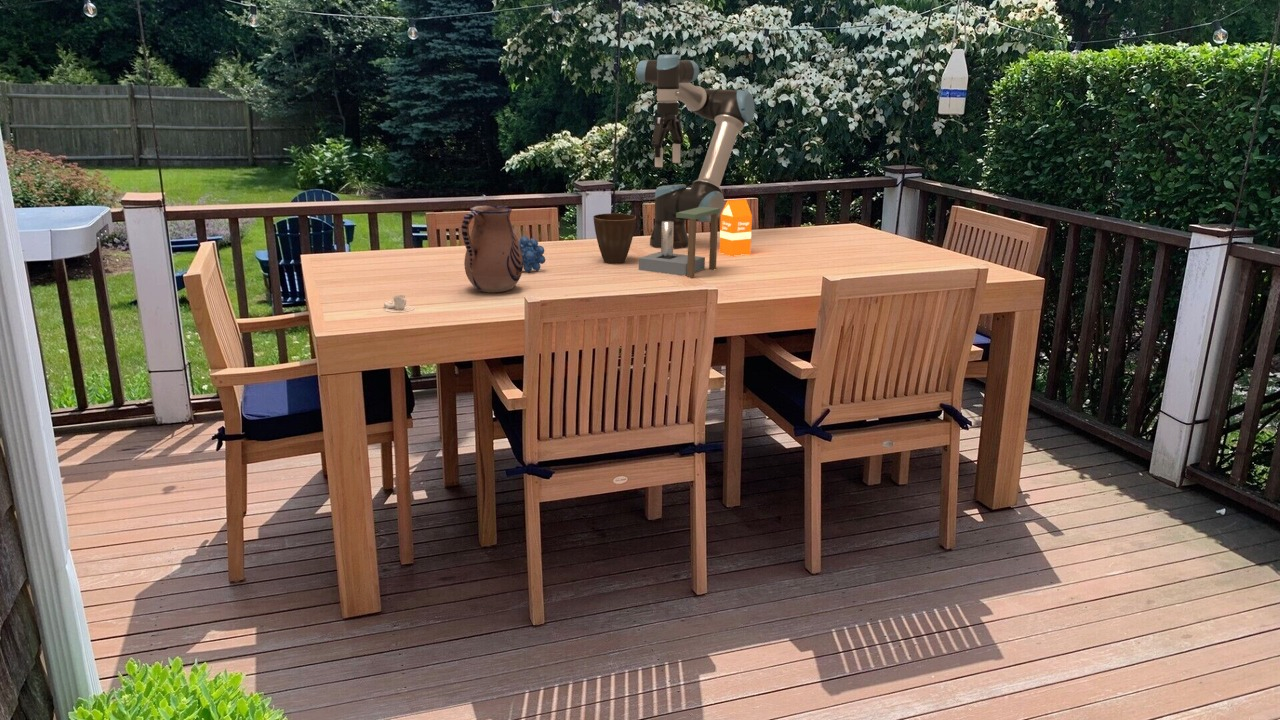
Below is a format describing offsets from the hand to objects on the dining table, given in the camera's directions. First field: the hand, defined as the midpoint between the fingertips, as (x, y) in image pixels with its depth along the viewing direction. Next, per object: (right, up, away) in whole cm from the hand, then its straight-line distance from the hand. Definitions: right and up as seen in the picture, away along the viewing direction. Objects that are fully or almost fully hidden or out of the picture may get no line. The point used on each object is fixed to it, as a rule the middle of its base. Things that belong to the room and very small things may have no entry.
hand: (667, 164), depth 323 cm
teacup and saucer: (-77, -54, -62) cm, 113 cm away
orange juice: (+25, -29, +20) cm, 43 cm away
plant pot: (-19, -34, +2) cm, 39 cm away
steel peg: (-1, -37, -8) cm, 38 cm away
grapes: (-47, -39, -16) cm, 63 cm away
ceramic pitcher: (-55, -47, -43) cm, 84 cm away
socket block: (+1, -37, -9) cm, 38 cm away
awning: (+9, -39, -13) cm, 42 cm away
